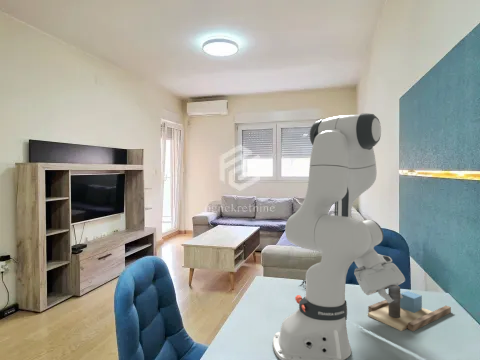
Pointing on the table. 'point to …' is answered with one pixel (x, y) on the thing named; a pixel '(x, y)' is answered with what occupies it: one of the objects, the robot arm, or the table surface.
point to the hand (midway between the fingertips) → (396, 300)
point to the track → (420, 321)
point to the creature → (303, 282)
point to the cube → (411, 302)
